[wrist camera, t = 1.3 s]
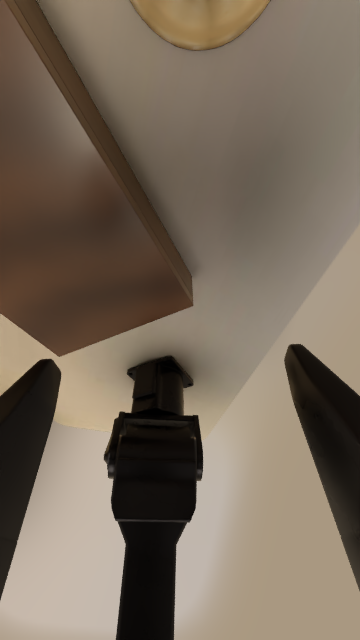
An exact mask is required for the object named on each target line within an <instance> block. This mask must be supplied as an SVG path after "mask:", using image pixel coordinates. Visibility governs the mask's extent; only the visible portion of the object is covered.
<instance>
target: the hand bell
mask: <svg viewBox="0 0 360 640" xmlns="http://www.w3.org/2000/svg"><path fill="white" fill-rule="evenodd" d="M130 1H131V3H132V5H133V6H134V8H135V9H136V11H137V12H138V14H139V15H140V16H141V18H142V19H143V20H144V21H145V22H146V23H147V25H148V26H149V27H150V28H151V29H152V30H153V31H154V32H155V33H156V34H157V35H159V36H160V37H162V38H163V39H164V40H166V41H168V42H170V43H171V44H173V45H175V46H177V47H180V48H184V49H190V50H208V49H213V48H216V47H219V46H222V45H224V44H226V43H228V42H230V41H232V40H233V39H235V38H236V37H238V36H239V35H240V34H242V33H243V32H244V31H245V30H246V29H247V28H248V27H249V26H250V25H251V24H252V23H253V22H254V21H255V20H256V19H257V18H258V17H259V16H260V14H261V13H262V12H263V10H264V9H265V8H266V6H267V5H268V3H269V2H270V0H130Z"/></svg>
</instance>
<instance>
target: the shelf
mask: <svg viewBox="0 0 360 640" xmlns="http://www.w3.org/2000/svg"><path fill="white" fill-rule="evenodd" d="M191 306H193V291H192V276H191V275H190V273H189V271H188V269H187V267H186V266H185V264H184V262H183V260H182V259H181V257H180V255H179V253H178V252H177V250H176V248H175V246H174V244H173V243H172V241H171V239H170V237H169V236H168V234H167V232H166V230H165V229H164V227H163V225H162V223H161V221H160V220H159V218H158V216H157V214H156V213H155V211H154V209H153V207H152V206H151V204H150V202H149V200H148V198H147V197H146V195H145V193H144V191H143V190H142V188H141V186H140V184H139V182H138V181H137V179H136V177H135V175H134V174H133V172H132V170H131V168H130V167H129V165H128V163H127V161H126V159H125V158H124V156H123V154H122V152H121V151H120V149H119V147H118V145H117V144H116V142H115V140H114V138H113V136H112V135H111V133H110V131H109V129H108V128H107V126H106V124H105V122H104V121H103V119H102V117H101V115H100V113H99V112H98V110H97V108H96V106H95V105H94V103H93V101H92V99H91V98H90V96H89V94H88V92H87V90H86V89H85V87H84V85H83V83H82V82H81V80H80V78H79V76H78V75H77V73H76V71H75V69H74V67H73V66H72V64H71V62H70V60H69V59H68V57H67V55H66V53H65V52H64V50H63V48H62V46H61V44H60V43H59V41H58V39H57V37H56V36H55V34H54V32H53V30H52V29H51V27H50V25H49V23H48V21H47V20H46V18H45V16H44V14H43V13H42V11H41V9H40V7H39V6H38V4H37V2H36V0H0V313H1V314H2V315H4V316H5V317H6V318H8V319H9V320H10V321H12V322H13V323H14V324H16V325H17V326H18V327H20V328H21V329H22V330H24V331H25V332H26V333H28V334H29V335H30V336H32V337H33V338H34V339H36V340H37V341H38V342H40V343H41V344H42V345H44V346H45V347H47V348H48V349H49V350H51V351H52V352H53V353H55V354H56V355H57V356H59V357H60V356H63V355H65V354H68V353H71V352H73V351H76V350H79V349H81V348H84V347H86V346H89V345H92V344H94V343H97V342H99V341H102V340H105V339H107V338H110V337H113V336H115V335H118V334H120V333H123V332H126V331H128V330H131V329H134V328H136V327H139V326H141V325H144V324H147V323H149V322H152V321H155V320H157V319H160V318H162V317H165V316H168V315H170V314H173V313H176V312H178V311H181V310H183V309H186V308H189V307H191Z"/></svg>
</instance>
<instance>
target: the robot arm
mask: <svg viewBox="0 0 360 640" xmlns="http://www.w3.org/2000/svg"><path fill="white" fill-rule="evenodd" d="M284 361H285V368H286V372H287V376H288V381H289V385H290V390H291V394H292V398H293V402H294V405H295V408H296V411H297V414H298V417H299V419H300V423H301V425H302V428H303V431H304V434H305V437H306V440H307V443H308V445H309V448H310V451H311V454H312V457H313V460H314V462H315V465H316V468H317V471H318V473H319V477H320V479H321V482H322V485H323V488H324V491H325V493H326V496H327V499H328V502H329V505H330V508H331V511H332V513H333V516H334V519H335V522H336V525H337V528H338V530H339V533H340V535H341V539H342V542H343V545H344V548H345V551H346V554H347V556H348V559H349V562H350V565H351V568H352V570H353V573H354V576H355V579H356V582H357V585H358V587H359V590H360V396H359V395H358V394H357V393H356V392H355V391H354V390H352V389H351V388H350V387H349V386H348V385H347V384H346V383H344V382H343V381H342V380H341V379H340V378H339V377H338V376H337V375H336V374H334V373H333V372H332V371H331V370H330V369H329V368H328V367H327V366H325V365H324V364H323V363H322V362H321V361H320V360H319V359H318V358H316V357H315V356H314V355H313V354H312V353H311V352H310V351H309V350H307V349H306V348H305V347H304V346H303V345H301V344H291V345H289V347H288V349H287V352H286V356H285V360H284ZM127 375H128V376H130V377H131V378H132V379H133V380H134V381H135V382H134V389H133V396H132V398H133V404H132V411H131V413H125V412H120V413H119V417H118V418H116V419H115V420H114V425H113V430H112V434H111V437H110V440H109V443H108V446H107V448H106V451H105V454H104V460H105V462H106V463H107V469H108V478H111V479H114V480H113V488H112V496H111V504H112V511H113V514H114V518H115V520H116V521H118V524H119V526H120V529H121V532H122V535H123V538H124V540H125V543H126V547H125V558H124V567H123V577H122V587H121V596H120V606H119V616H118V625H117V635H116V640H174V608H175V607H174V606H175V572H176V544H177V542H178V540H179V538H180V536H181V534H182V532H183V530H184V528H185V526H186V524H187V522H190V521H191V518H192V516H193V513H194V511H195V508H196V483H197V481H201V479H202V472H203V449H202V441H201V434H200V426H199V419H198V415H193V416H186V415H184V399H183V388H187V387H191V386H193V380H192V379H191V378H190V377H189V376H188V374H187V373H186V372H185V371H184V370H183V368H182V367H181V366H180V365H179V364H178V363H177V361H176V360H175V359H174V358H173V357H171V356H169V357H165V358H162V359H159V360H156V361H153V362H150V363H147V364H144V365H140V366H137V367H134V368H131V369H129V370H128V371H127ZM60 381H61V371H60V369H59V368H58V367H57V365H56V364H55V362H54V361H53V360H52V359H42V360H39V361H38V362H37V363H36V364H35V365H34V366H33V367H32V368H30V369H29V370H28V371H27V372H26V373H25V374H24V375H23V376H22V377H21V378H20V379H19V380H17V381H16V382H15V383H14V384H13V385H12V386H11V387H10V388H9V389H8V390H7V391H5V392H4V393H3V394H2V395H1V396H0V600H1V596H2V593H3V589H4V586H5V582H6V579H7V576H8V572H9V569H10V565H11V562H12V558H13V555H14V552H15V548H16V545H17V540H18V537H19V534H20V530H21V527H22V524H23V520H24V517H25V513H26V510H27V506H28V503H29V499H30V496H31V493H32V489H33V486H34V482H35V479H36V476H37V472H38V469H39V465H40V462H41V458H42V455H43V452H44V448H45V445H46V441H47V438H48V434H49V431H50V428H51V424H52V421H53V417H54V413H55V409H56V403H57V398H58V392H59V386H60Z"/></svg>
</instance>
